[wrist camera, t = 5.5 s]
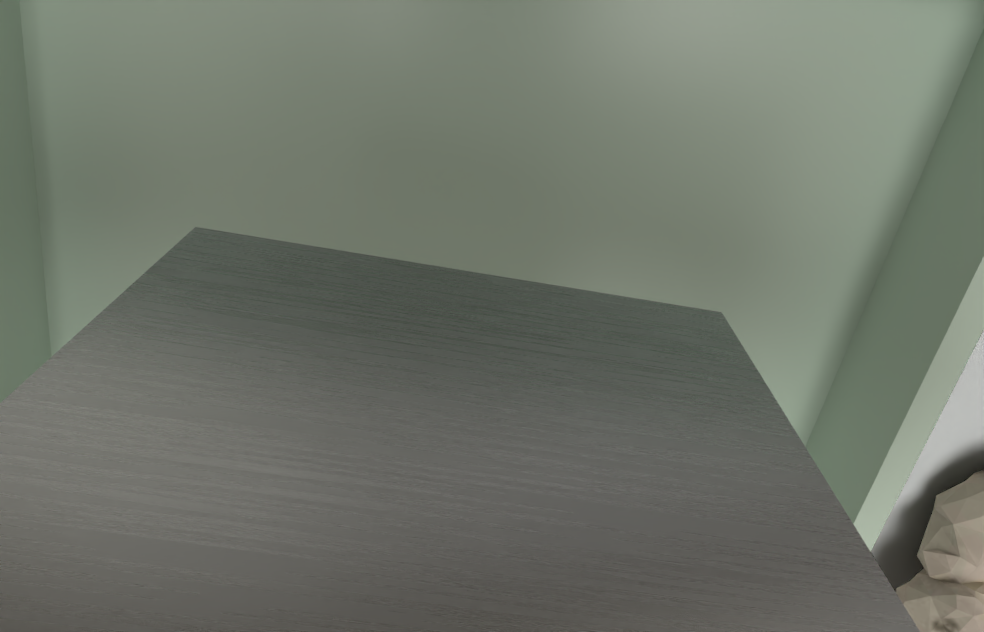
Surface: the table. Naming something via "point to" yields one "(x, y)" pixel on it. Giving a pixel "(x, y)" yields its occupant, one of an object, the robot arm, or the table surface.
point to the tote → (535, 172)
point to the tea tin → (411, 462)
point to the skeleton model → (951, 563)
